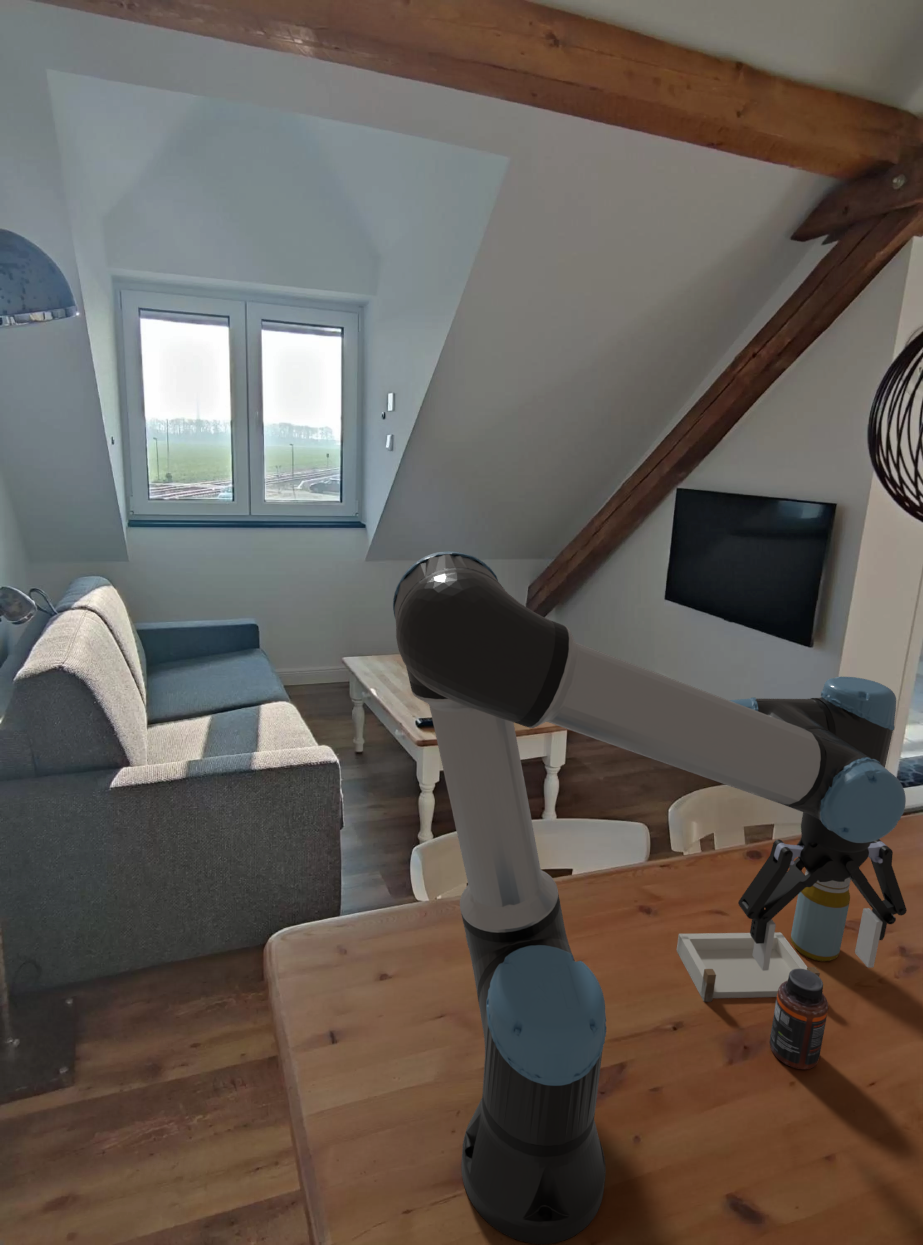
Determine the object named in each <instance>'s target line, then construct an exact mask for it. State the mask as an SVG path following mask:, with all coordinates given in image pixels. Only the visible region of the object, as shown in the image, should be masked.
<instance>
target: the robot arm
mask: <svg viewBox="0 0 923 1245" xmlns="http://www.w3.org/2000/svg"><path fill="white" fill-rule="evenodd" d="M392 611H393V615H394V619H395V637H396V638H395V639H396V643H397V644H396V645H397V649H398V652H399V654H400V657H401V659H402V662H403V663H404V665H405V668H406V673H407V677H408V681H409V684H410V689H411V692H412V695H413V696H414V697H415V698H417V699H418V700H420V701H423V702H424V703H426V704H427V705H428V706H429V710H430V715H431V720H432V724H433V729H434V733H435V738H436V742H437V746H438V752H439V756H440V760H441V766H442V769H443V774H444V779H445V784H446V789H447V793H448V798H449V802H450V807H451V810H452V811H451V812H452V816H453V817H452V818H453V821H454V826H455V830H456V834H457V838H458V840H457V841H458V843H459V849H460V853H461V858H462V862H463V867H464V872H465V876H466V880H467V885H466V887H465V889H464V890H463V891H462V893H461V896H460V898H459V910H460V915H461V919H462V924H463V928H464V933H465V938H466V942H467V948H468V951H469V955H470V961H471V967H472V972H473V977H474V978H473V979H474V983H475V988H476V989H475V990H476V995H477V1001H478V1008H479V1012H480V1013H479V1014H480V1020H481V1025H482V1026H481V1027H482V1030H483V1038H484V1064H483V1065H484V1066H483V1079H482V1080H483V1081H482V1082H483V1083H482V1096H481V1099H480V1101H479V1103H478V1105H477V1107H476V1109H475V1111H474V1113H473V1115H472V1117H471V1118H470V1120H469V1123H468V1125H467V1127H466V1129H465V1133H464V1136H463V1141H462V1149H461V1177H462V1182H463V1185H464V1186H463V1187H464V1188H465V1192H466V1194H467V1196H468V1198H469V1201H470V1202H471V1204H472V1205H473V1207H474V1208H475V1210H476V1211H477V1213H478V1214H479V1215H480V1216H481V1217H482V1219H484V1220H485V1221H486V1222H487V1223H488V1224H489V1225H490V1226H491V1227H493V1228H494V1229H495V1230H497V1231H498V1232H500V1233H502V1234H504V1235H505V1236H507V1237H510V1238H512V1239H514V1240H517V1241H521V1242H524V1243H530V1244H535V1245H536V1244H537V1245H549V1244H555V1243H561V1242H563V1241H566V1240H569V1239H570V1238H573V1237H575V1236H576V1235H578V1234H579V1233H581V1232H582V1231H583V1230H584V1229H585V1228H586V1227H588V1226H589V1225H590V1224H591V1222H592V1221H593V1220H594V1218H595V1217H596V1215H597V1213H598V1211H599V1209H600V1206H601V1205H602V1201H603V1197H604V1188H605V1181H606V1159H605V1154H604V1149H603V1146H602V1144H601V1141H600V1137H599V1134H598V1129H597V1125H596V1121H595V1114H596V1106H597V1100H598V1091H599V1083H600V1082H599V1080H600V1076H601V1074H600V1073H601V1065H602V1058H603V1057H602V1056H603V1050H604V1045H605V1043H606V1042H605V1041H606V1036H607V1024H606V1023H607V1018H606V1017H607V1015H606V1002H605V997H604V992H603V990H602V987H601V985H600V982H599V981H598V978H597V977H596V975H595V974H594V972H593V971H592V970H591V968H589V965H586V963H585V962H583V960H578V961H576V960H575V958H574V955H573V952H572V950H571V946H570V942H569V940H568V937H567V932H566V926H565V922H564V918H563V912H562V905H561V900H560V895H559V890H558V885H557V883H556V882H555V880H554V878H553V877H552V876H551V875H550V874H548V873H547V872H546V871H544V870H542V869H541V863H540V859H539V852H538V848H537V842H536V837H535V831H534V827H533V820H532V815H531V810H530V804H529V799H528V793H527V788H526V782H525V777H524V771H523V767H522V761H521V756H520V750H519V745H518V744H519V743H518V739H517V733H516V730H515V729H516V728H515V724H516V725H520V726H523V727H526V728H529V729H534V728H536V727H539V726H540V725H542V724H545V723H549V724H552V725H555V726H558V727H560V728H563V729H566V730H568V731H572V732H575V733H577V734H581V735H584V736H587V737H589V738H592V739H595V740H597V741H600V742H603V743H607V744H609V745H611V746H614V747H617V748H620V749H623V750H626V751H628V752H629V751H630V752H632V753H634V754H638V755H641V756H644V757H646V758H649V759H652V760H655V761H658V762H661V763H663V764H665V765H666V764H667V765H669V766H670V767H675V768H677V769H681V770H683V771H686V772H689V773H691V774H694V775H698V776H700V777H703V778H705V779H709V780H712V781H715V782H717V783H721V784H723V785H726V786H729V787H731V788H735V789H737V790H740V791H743V792H745V793H749V794H752V795H755V796H757V797H760V798H763V799H765V800H768V801H771V802H773V803H774V802H775V803H778V804H780V805H783V806H786V807H788V808H791V809H793V810H796V811H799V812H801V813H802V817H801V823H800V829H801V830H800V832H801V836H800V839H799V841H798V842H797V844H786V843H784V841H782V840H781V839H775V840H774V841H773V843H772V846H771V851H770V854H769V856H768V858H767V859H766V861H765V862H764V863H763V865H762V866H761V868H760V869H759V871H758V872H757V874H755V877H754V878H753V880H752V881H751V882H750V883H749V886H748V887H747V888H746V890H745V892H744V893H743V894H742V895H741V897H740V898H739V900H738V906H739V907H740V909H741V910H742V912H743V913H744V914H745V916H746V917H747V919H749V920H751V925H750V931H749V933H750V934H751V937H752V938H753V940H754V948H753V954H752V956H753V957H754V959H755V960H756V962H757V963H758V965H759V966H760V968H761V969H762V971H766V970H769V964H770V957H771V951H772V945H773V939H774V933H776V931H775V930H776V925H777V924H776V922H775V921H774V920H773V918H774V917H775V916H776V915H777V914H779V913H780V912H781V911H782V910H783V909H784V908H785V907H787V906H788V904H790V903H791V902H792V901H793V900H794V899H795V898H796V897H798V894H799V893H800V892H801V891H802V890H803V889H804V888H806V887H811V886H813V885H814V884H815V883H816V882H817V881H819V882H828V881H832V880H833V881H837V882H844V881H845V879H847V878H850V879H851V882H852V883H853V884H854V886H855V887H856V889H857V890H858V891H859V893H860V894H861V896H862V897H863V898H864V899H865V901H866V902H867V904H868V905H869V907H870V908H869V907H867V908H866V907H864V908H863V909H862V914H861V919H860V925H859V929H858V934H857V940H856V944H855V945H856V946H855V948H854V949H855V950H854V953H855V955H856V956H857V957H858V958H859V959H860V961H861V962H862V963H863V964H864V965H865V967H867V968H874V967H875V963H876V956H877V953H878V952H877V951H878V947H879V943H880V942H879V941H883V939H884V938H885V935H886V931H887V927H888V926H887V925H893V924H895V923H896V920H897V918H896V916H895V915H898V916H904V915H905V914H906V913H907V907H906V903H905V901H904V898H903V894H902V892H901V889H900V888H901V887H900V886H899V883H898V882H899V881H898V880H897V877H896V876H897V875H896V873H895V870H894V868H893V853H894V852H893V850H892V848H891V847H889V846H888V845H886V844H885V843H884V842H883V841H882V840H880V839H882V838H884V837H885V836H887V835H888V834H889V833H891V832H892V831H893V830H894V829H895V828H896V826H897V825H898V822H899V821H900V820H901V818H902V816H903V815H904V812H905V808H906V804H907V803H906V800H907V799H906V794H905V793H906V792H905V789H904V786H903V784H902V783H901V781H900V780H899V778H898V777H897V776H896V775H894V774H893V773H892V772H890V770H888V769H887V768H886V765H887V760H888V756H889V751H890V746H891V742H892V736H893V732H894V731H895V718H896V712H897V697H896V695H895V693H894V691H893V690H892V689H891V688H890V687H888V686H886V685H884V684H882V683H880V682H877V681H875V680H870V679H866V678H861V677H857V676H856V677H854V676H835V677H834V678H833V677H831V678H828V679H827V680H826V681H825V682H824V684H823V688H822V691H821V692H820V697H810V698H756V697H753V696H752V697H750V698H740V699H739V698H738V699H726V698H724V697H721V696H718V695H716V694H713V693H712V692H711V693H710V692H708V691H705V690H702V689H701V688H698V687H695V686H693V685H689V684H688V683H685V682H682V681H679V680H676V679H674V678H672V677H670V676H669V677H668V676H665V675H663V674H660V673H657V672H654V671H652V670H650V669H647V668H645V667H642V666H640V665H637V664H635V663H632V662H629V661H626V660H623V659H621V658H618V657H616V656H613V655H611V654H608V653H605V652H602V651H600V650H597V649H594V648H592V647H589V646H587V645H584V644H581V643H579V642H576V641H575V639H574V637H573V634H572V631H571V629H570V628H569V627H568V626H567V625H563V624H561V623H558V622H556V621H553V620H550V619H549V618H546V617H544V616H542V615H541V614H540V613H539V614H538V613H536V612H534V611H533V610H532V609H530V608H528V607H527V606H525V604H522V603H521V602H519V601H518V600H517V599H515V598H514V597H513V596H512V595H510V593H508V591H506V589H505V588H504V587H503V586H502V584H501V582H500V581H499V579H498V576H497V575H496V573H495V572H494V570H493V569H492V568H491V567H490V566H488V565H487V564H486V563H485V561H482V560H480V559H479V558H477V557H476V556H473V555H470V554H467V553H464V552H461V551H460V552H459V551H453V550H452V551H451V550H449V551H438V552H433V553H431V554H429V555H425V556H424V557H422V558H419V559H418V560H417V561H416V562H414V563H413V564H412V565H410V567H409V568H408V569H407V570H406V571H405V573H404V574H403V575H402V577H401V578H400V580H399V582H398V583H397V585H396V588H395V591H394V596H393V599H392ZM868 858H869V859H870V862H871V866H872V868H873V871H874V874H875V876H876V879H877V882H878V885H879V888H880V891H881V893H882V896H883V897H882V898H883V899H882V898H881V897H880V896H879V895H878V893H877V891H875V889H874V888H873V886H872V885H871V883H870V882H869V880H868V879H867V877H866V876H865V874H864V873H863V871H862V869H860V867H861V866H862V865H863V864H864V863H865V862H866V861H867V860H868ZM804 868H805V871H806V870H807V872H808V874H807V875H805V873H804V871H802V870H803V869H804Z"/></svg>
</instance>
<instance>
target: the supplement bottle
mask: <svg viewBox="0 0 923 1245" xmlns="http://www.w3.org/2000/svg"><path fill="white" fill-rule="evenodd" d="M823 989H824V982H823V980H822V978H821V977H820V976H817V975H816V974H815V973H813V972H811V971H809V970H805V969H793V970H791V971H790V973H789V978H788V981H785V982H783V983H782V984H781V985H780V987H779V989H778V993H777V997H776V999H775V1006H774V1011H773V1019H772V1025H771V1029H770V1035H769V1047H770V1050H771V1052H772V1053H773V1055H774V1056H775V1057H776V1058H777V1059H778V1060H780V1062H782V1063H783V1064H784V1065H786V1066H789V1067H790V1068H794V1069H798V1070H810V1069H813V1068H814V1067H816V1066H817V1064H818V1063H819V1061H820V1060H819V1059H820V1056H821V1052H822V1051H821V1050H822V1045H823V1044H822V1043H823V1039H824V1034H825V1029H826V1025H827V1024H826V1023H827V1017H828V1011H829V1002H828V1000H827V997H826V995H825V994H824V993H823V992H824V991H823Z"/></svg>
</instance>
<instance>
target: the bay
mask: <svg viewBox="0 0 923 1245" xmlns="http://www.w3.org/2000/svg"><path fill="white" fill-rule="evenodd" d="M792 946H793V945H791V944H790V942H789V941H788V940H787V938H786V936H784V935H783V933H782V932H775V933H774V939H773V945H772V951H771V957H770V964H769V970H766V971H762V969H761V968H760V966H759V965H758V963H757V962H756V960H755V959H754V957H753V956H752V954H753V948H754V940H753V938H752V937H751V934H750V932H727V933H726V932H724V933H723V932H717V933H715V932H714V933H713V932H712V933H711V932H709V933H706V932H705V933H703V932H702V933H678V938H677V946H676V953H677V954H678V957H679V958H680V960H681V962H682V963H683V966H684V967H685V969H686V971H687V973H688V975H689V977H690V978H691V980H692V983H693V984H694V986H695V988H696V990H697V991H698V992H697V993H699V996H700V998H701V999H702V1001H703V1002H704V1003H705V1002H709V1003H710V1002H712V1001H713V999H737V998H738V999H743V998H745V999H746V998H777V993H778V989H779V987H780V985H781V984H782V983H783V982H785V981H788V978H789V973H790V971H791V970H793V969H805V970H809V971H811V972H813V973H815V974H816V975H817V976H819V977H820V974H821V972H820V971H819V970H818V969H817V967H816V966H807V965H806V963H805V962H804V961H803V959H802V958H801V957H800V955H799V954H798V953H797V952H796V950H795V949H794V948H793V947H792Z"/></svg>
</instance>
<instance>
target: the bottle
mask: <svg viewBox="0 0 923 1245" xmlns="http://www.w3.org/2000/svg"><path fill="white" fill-rule="evenodd" d="M804 874H805V875H807V874H808V872H807V870H806V869H805V873H804ZM851 882H852V881H851V879H850V878H847V879H845V881H844V882H837V881H833V880H832V881H828V882H819V881H817V882H816V883H815V884H814V885H813V886H811V887H806V888H804V889H803V890H802V891H801V892H800V893H799V894H798V895H797V899H796V905H795V910H794V911H795V912H794V914H793V915H794V916H793V922H792V928H791V933H790V941H791V942H790V943H791V944H792V946H793V947H794V948H795V949H796V951H797V952H799V953H800V954H801V955H803V956H805V957H806V958H808V959H810V960H814V961H817V962H830V961H833V960H835V959H837V958H838V957H839V955H840V951H841V946H842V941H843V938H844V931H845V926H846V921H847V916H848V911H849V907H850V903H851V902H850V901H851V894H850V890H849V889H850V887H851V886H850V885H851Z"/></svg>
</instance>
